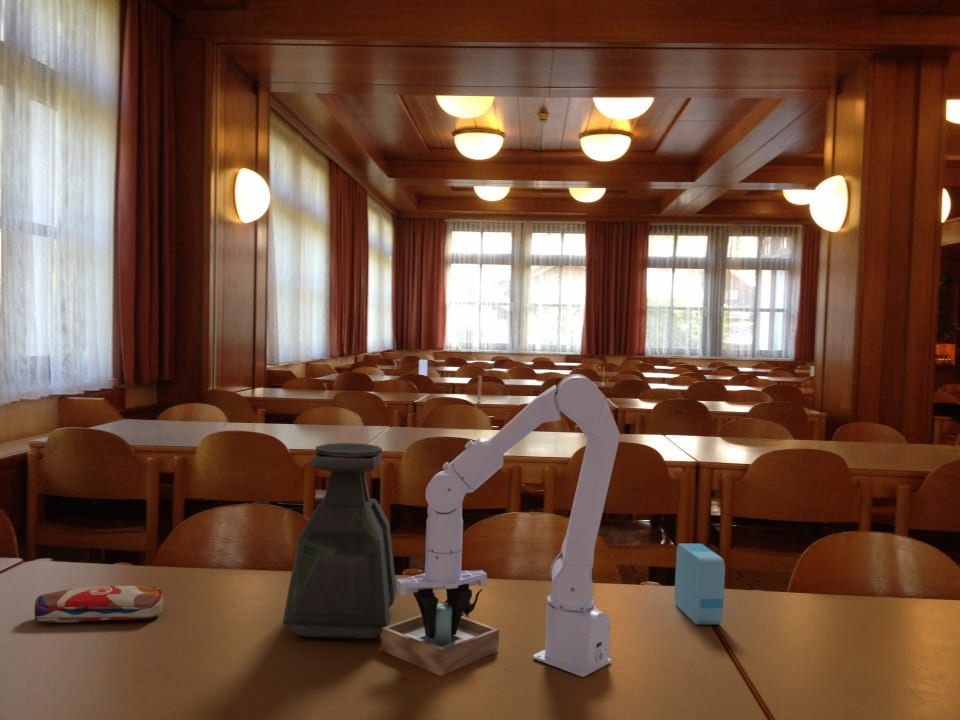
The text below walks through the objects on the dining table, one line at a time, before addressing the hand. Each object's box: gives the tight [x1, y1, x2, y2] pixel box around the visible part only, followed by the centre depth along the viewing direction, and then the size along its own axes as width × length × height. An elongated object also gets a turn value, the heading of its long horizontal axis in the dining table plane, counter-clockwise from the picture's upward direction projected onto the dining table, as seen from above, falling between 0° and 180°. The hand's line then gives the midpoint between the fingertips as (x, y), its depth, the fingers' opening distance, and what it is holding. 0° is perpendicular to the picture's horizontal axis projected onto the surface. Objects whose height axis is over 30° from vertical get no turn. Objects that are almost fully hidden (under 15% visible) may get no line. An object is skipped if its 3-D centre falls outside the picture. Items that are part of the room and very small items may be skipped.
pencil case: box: [34, 585, 164, 624], centre depth 132 cm, size 11×20×5 cm, turn 87°
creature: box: [440, 589, 484, 617], centre depth 141 cm, size 8×5×8 cm
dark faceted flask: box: [282, 442, 398, 640], centre depth 133 cm, size 18×16×30 cm
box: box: [380, 614, 500, 677], centre depth 124 cm, size 13×13×4 cm
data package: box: [674, 543, 726, 626], centre depth 145 cm, size 12×4×12 cm, turn 6°
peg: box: [430, 603, 452, 647], centre depth 124 cm, size 3×3×6 cm
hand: (440, 634), depth 124 cm, fingers closed on peg, 3 cm apart
